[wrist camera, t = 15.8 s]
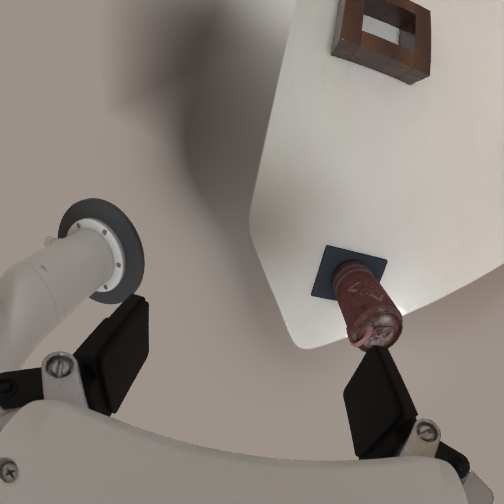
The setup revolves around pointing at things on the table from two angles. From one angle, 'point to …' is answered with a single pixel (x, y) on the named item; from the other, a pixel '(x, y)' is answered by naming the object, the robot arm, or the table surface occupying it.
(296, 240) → the table surface
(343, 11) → the holder
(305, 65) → the table surface
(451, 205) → the table surface
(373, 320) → the can
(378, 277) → the mat
